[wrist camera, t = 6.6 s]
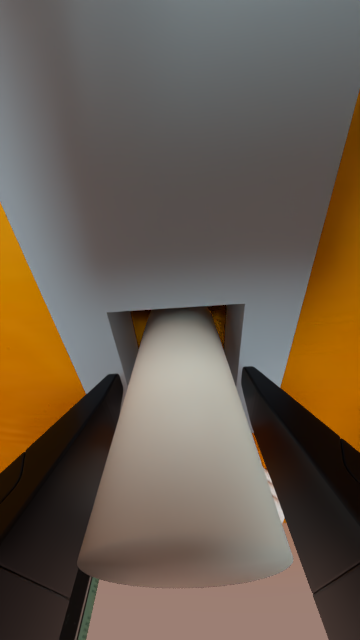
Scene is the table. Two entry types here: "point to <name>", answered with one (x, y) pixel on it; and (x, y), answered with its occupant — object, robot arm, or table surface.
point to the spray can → (79, 607)
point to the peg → (183, 472)
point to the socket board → (173, 163)
